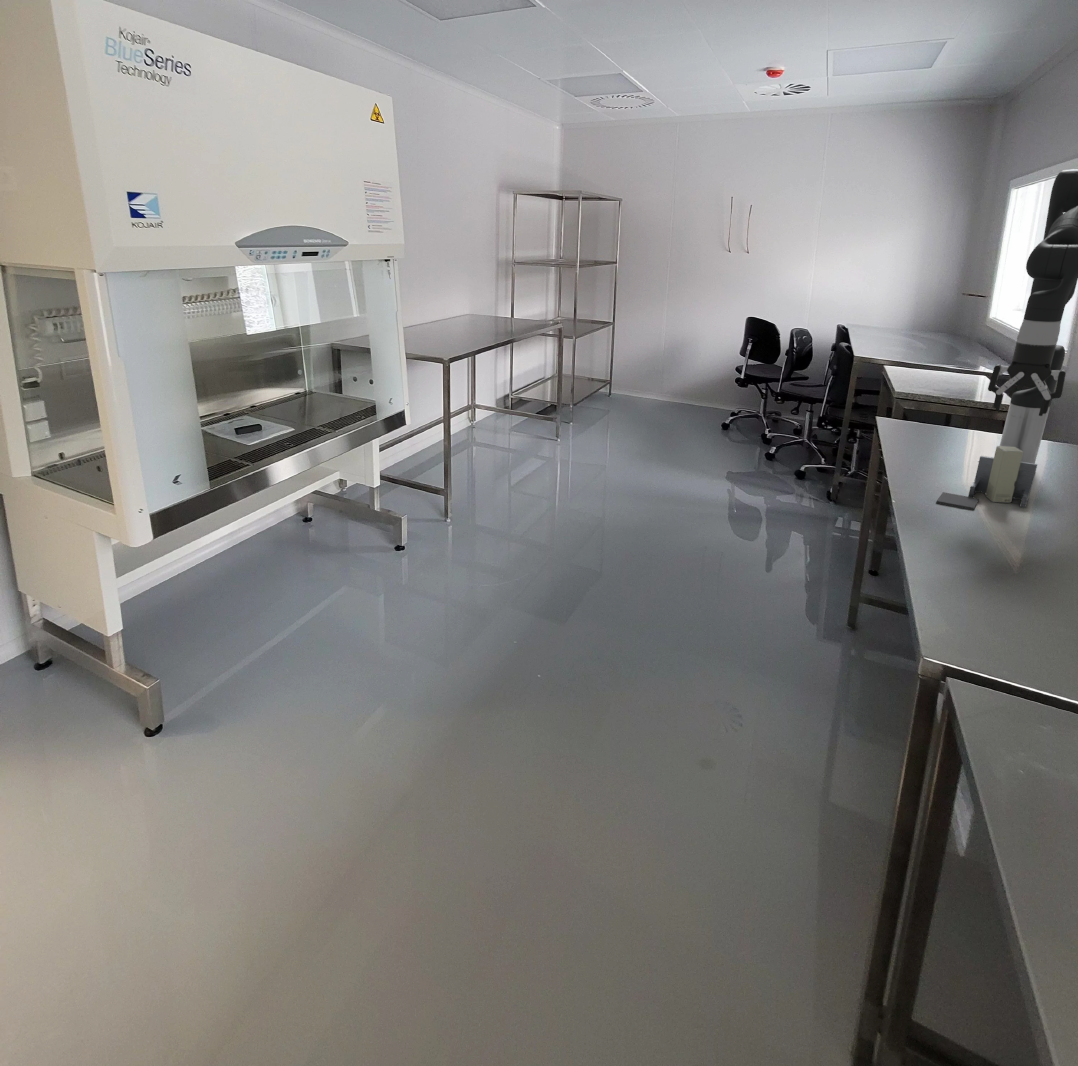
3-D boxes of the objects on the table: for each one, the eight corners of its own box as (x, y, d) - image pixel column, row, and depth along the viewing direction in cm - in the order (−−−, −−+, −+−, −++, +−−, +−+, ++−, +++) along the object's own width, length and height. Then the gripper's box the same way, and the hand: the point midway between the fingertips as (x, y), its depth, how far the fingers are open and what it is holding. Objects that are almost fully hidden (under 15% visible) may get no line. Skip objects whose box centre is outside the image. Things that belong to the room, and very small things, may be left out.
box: (1011, 503, 177) (1024, 452, 172) (991, 502, 178) (1004, 451, 173) (1003, 496, 182) (1016, 446, 177) (983, 495, 182) (996, 445, 178)
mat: (942, 494, 183) (942, 492, 183) (978, 500, 179) (979, 498, 178) (936, 503, 177) (936, 500, 177) (973, 510, 173) (974, 507, 172)
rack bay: (972, 489, 186) (980, 455, 183) (1028, 499, 180) (1037, 464, 176) (967, 497, 181) (976, 462, 177) (1024, 507, 174) (1034, 471, 171)
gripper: (1076, 341, 162) (1056, 413, 168) (1002, 336, 170) (986, 405, 176) (1074, 346, 156) (1054, 420, 163) (997, 340, 164) (981, 411, 171)
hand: (1018, 412), depth 170 cm, fingers open, 8 cm apart
